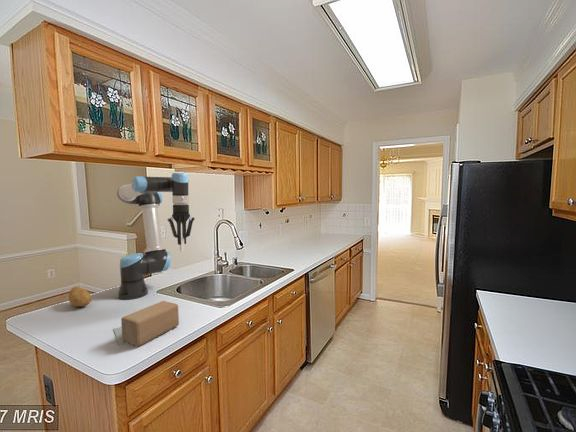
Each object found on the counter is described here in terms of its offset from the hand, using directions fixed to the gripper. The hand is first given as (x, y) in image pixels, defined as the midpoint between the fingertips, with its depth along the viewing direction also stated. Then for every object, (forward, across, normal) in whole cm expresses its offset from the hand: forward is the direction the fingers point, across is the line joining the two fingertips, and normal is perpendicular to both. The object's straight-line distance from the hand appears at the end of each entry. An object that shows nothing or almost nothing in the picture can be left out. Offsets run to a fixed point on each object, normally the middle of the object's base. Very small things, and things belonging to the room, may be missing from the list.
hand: (182, 250), depth 144 cm
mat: (+29, -22, -15) cm, 39 cm away
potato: (+31, -43, +34) cm, 63 cm away
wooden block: (+24, -10, -17) cm, 31 cm away
